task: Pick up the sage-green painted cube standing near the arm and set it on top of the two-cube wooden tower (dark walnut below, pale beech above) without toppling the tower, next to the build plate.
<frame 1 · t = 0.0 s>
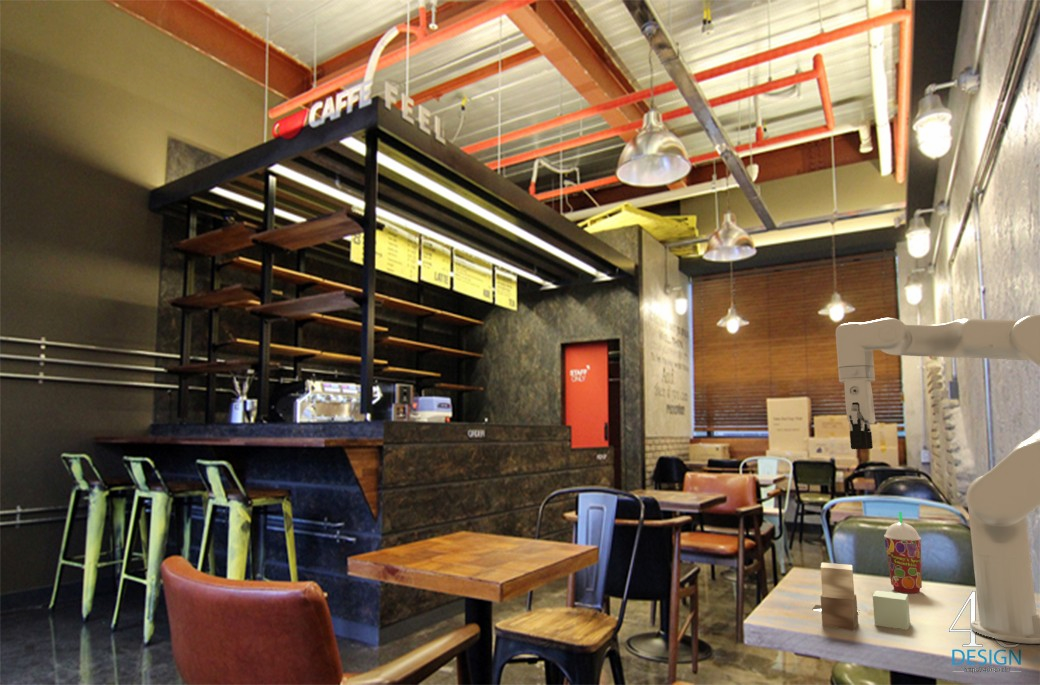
hand: (862, 448, 147), 37 cm above the table, tool pointing down, fingers open, 9 cm apart
smoothie: (906, 591, 164), on the table
sage block: (892, 624, 135), on the table
tower top: (838, 595, 135), point 6 cm above the table, touching tower base
tower base: (840, 624, 135), on the table, touching tower top
build plate: (835, 613, 146), on the table
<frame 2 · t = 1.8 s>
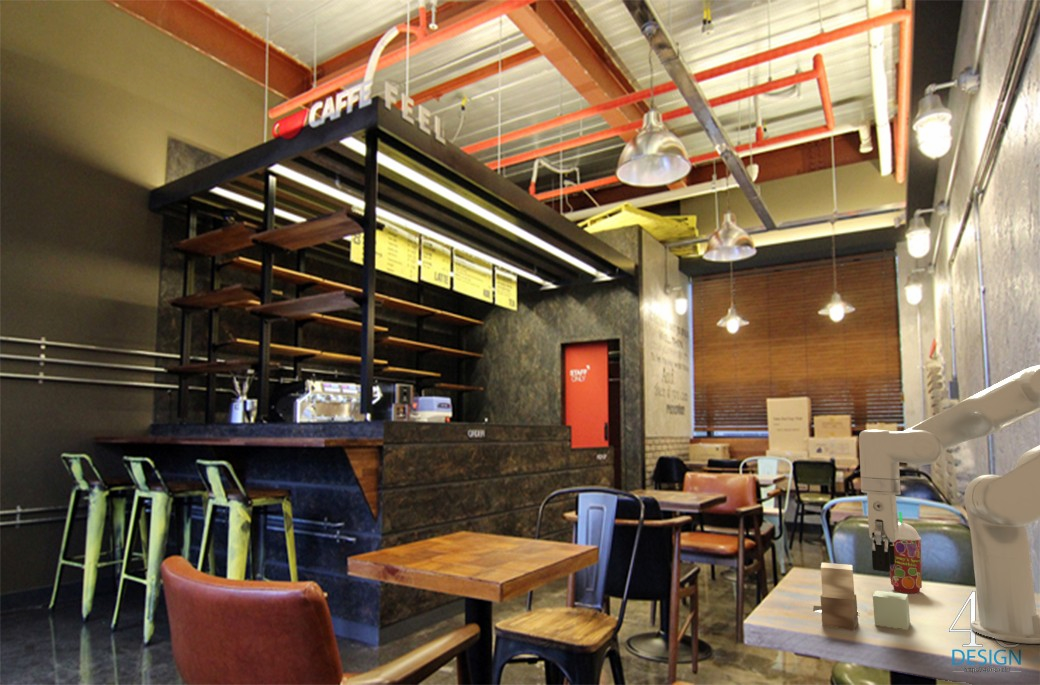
hand: (884, 567, 137), 12 cm above the table, tool pointing down, fingers open, 9 cm apart
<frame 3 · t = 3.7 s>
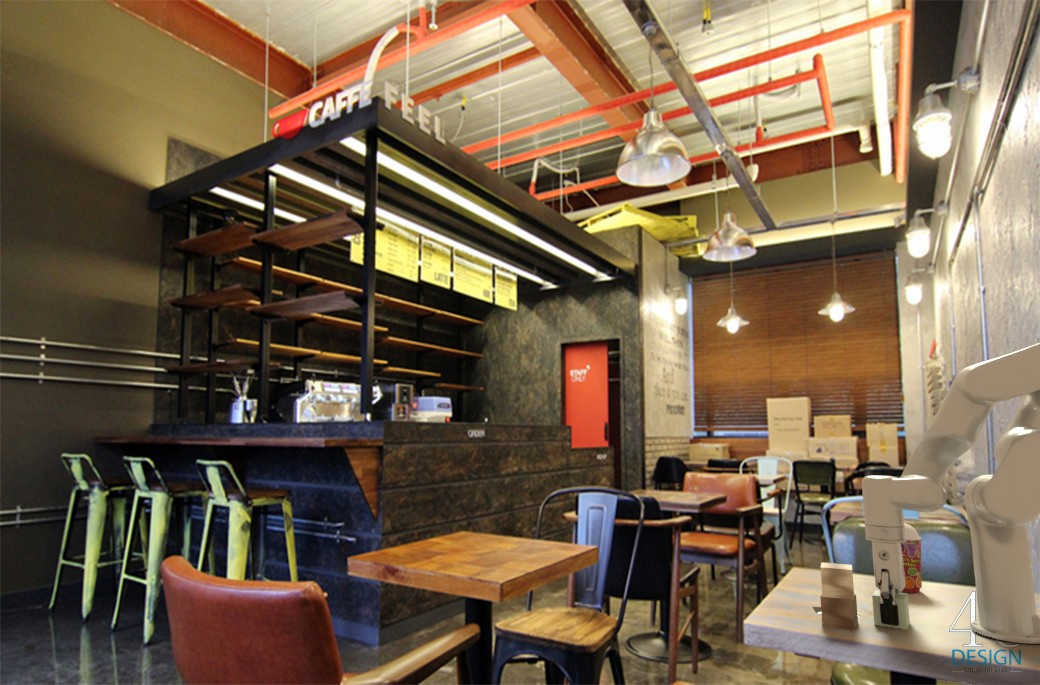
hand: (891, 619, 135), 1 cm above the table, tool pointing down, fingers closed on sage block, 6 cm apart
sage block: (892, 624, 135), on the table, touching gripper
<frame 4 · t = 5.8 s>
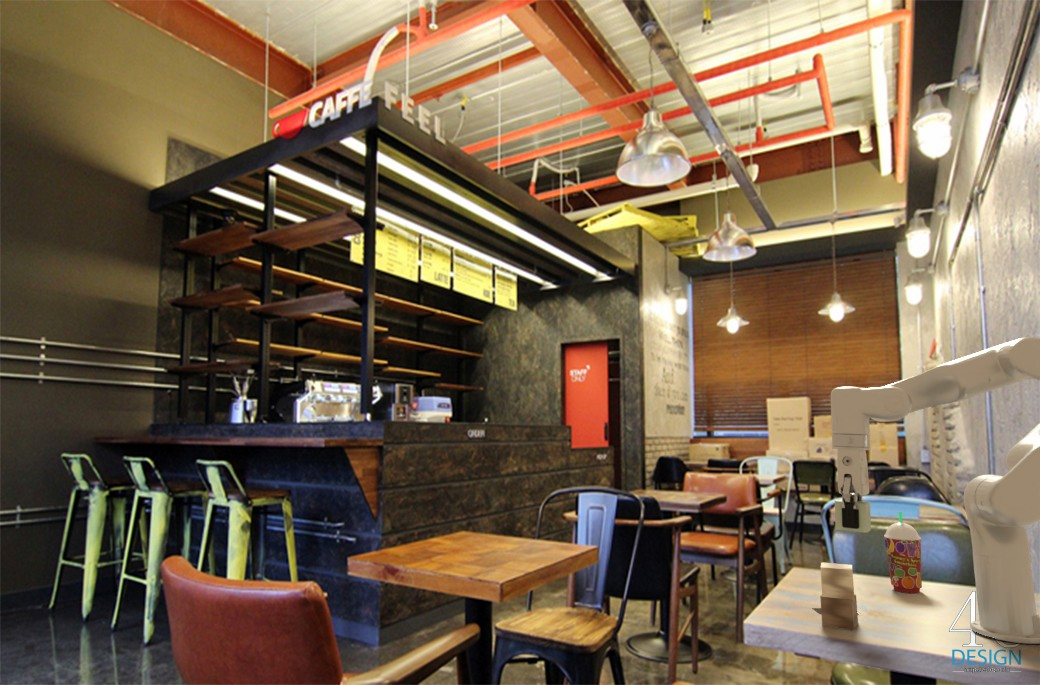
hand: (853, 525, 138), 20 cm above the table, tool pointing down, fingers closed on sage block, 6 cm apart
sage block: (853, 529, 138), point 19 cm above the table, touching gripper
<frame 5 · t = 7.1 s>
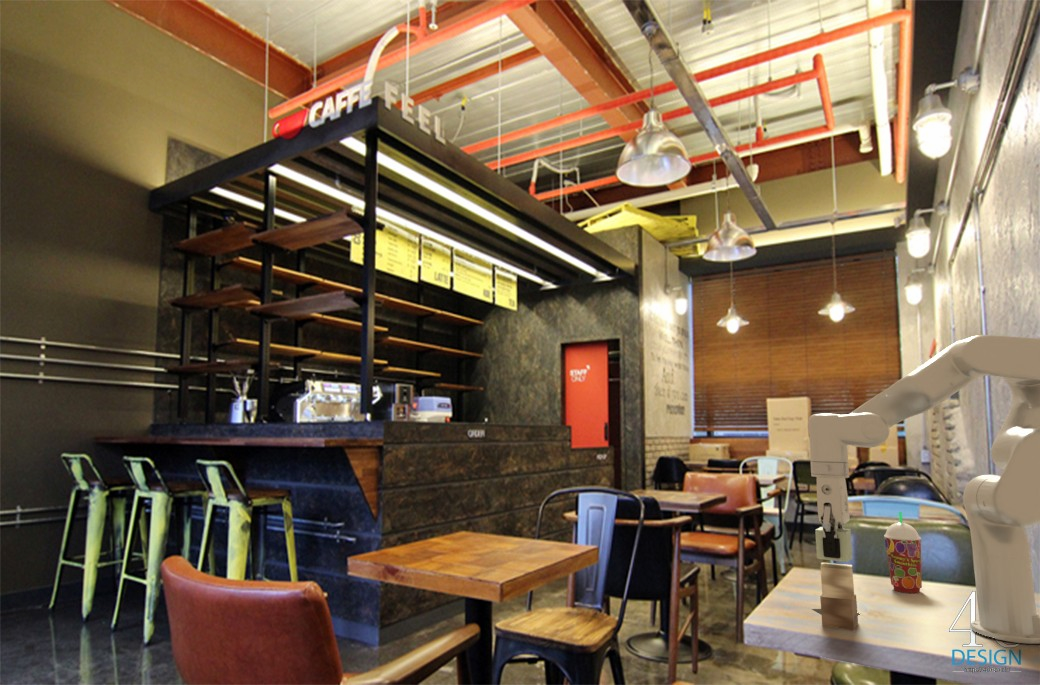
hand: (834, 554, 137), 14 cm above the table, tool pointing down, fingers closed on sage block, 6 cm apart
sage block: (834, 558, 137), point 14 cm above the table, touching gripper
when the fingers open (14 cm above the table, at t = 8.1 s): sage block stays where it is, resting on tower top.
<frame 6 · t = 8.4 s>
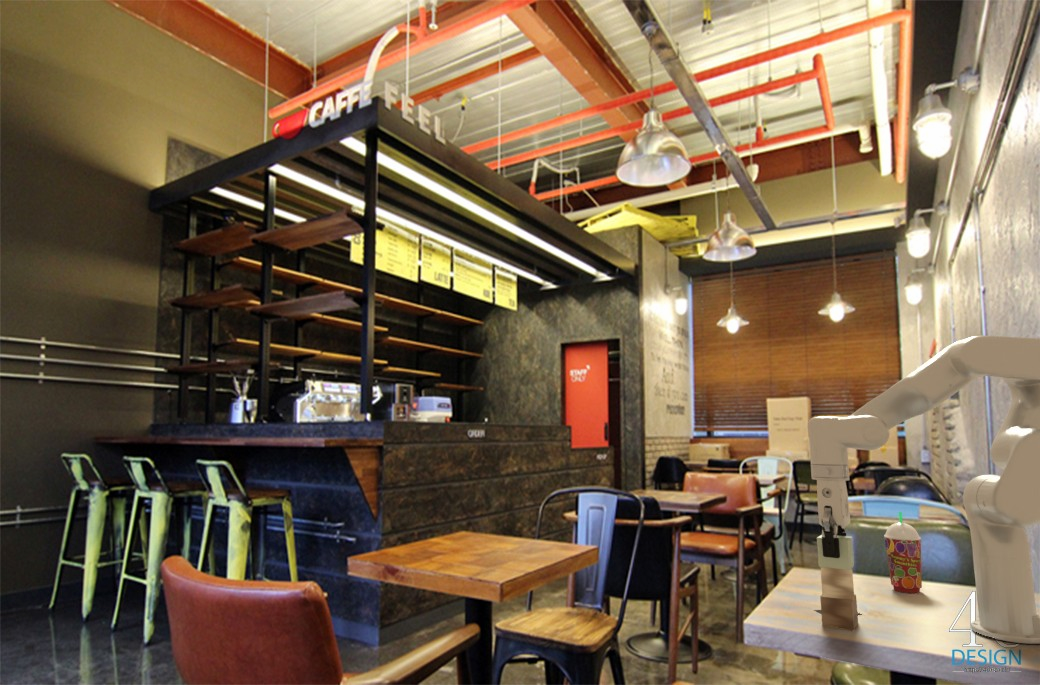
hand: (835, 553, 137), 14 cm above the table, tool pointing down, fingers open, 9 cm apart
sage block: (836, 566, 136), point 12 cm above the table, touching tower top
tower top: (838, 595, 136), point 6 cm above the table, touching sage block, tower base
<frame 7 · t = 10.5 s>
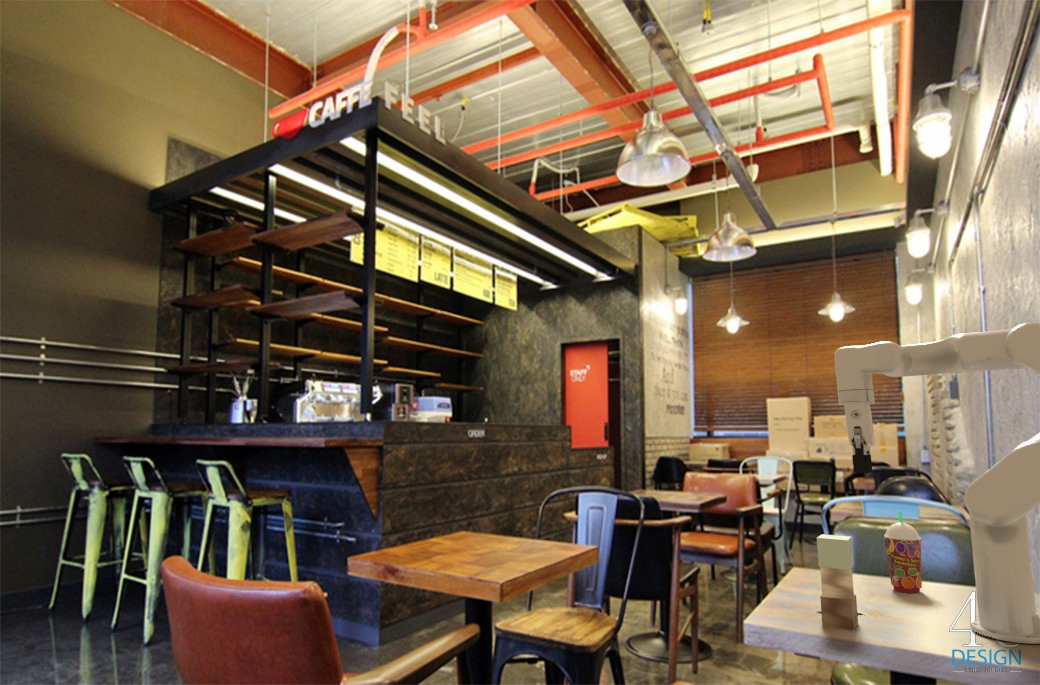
hand: (863, 472, 147), 31 cm above the table, tool pointing down, fingers open, 9 cm apart
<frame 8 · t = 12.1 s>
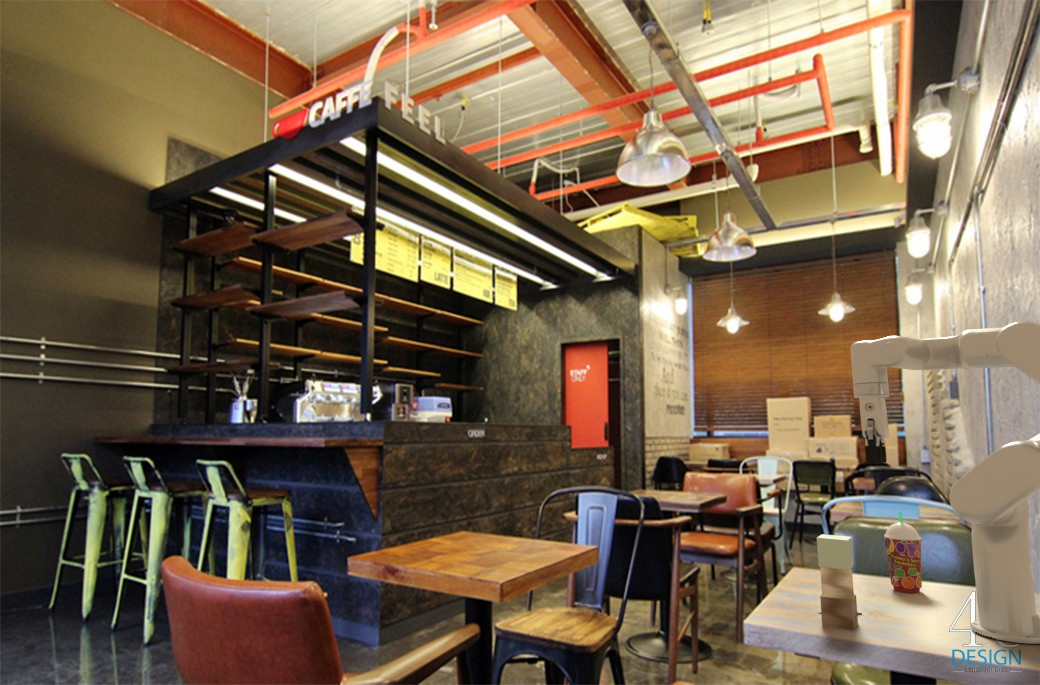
hand: (876, 463, 152), 33 cm above the table, tool pointing down, fingers open, 9 cm apart
at the end: sage block 0.1 cm off-centre on the tower top, point 6.0 cm above the tower top's base; sage block tilted 0°; tower top 0.0 cm off-centre on the tower base, point 6.0 cm above the tower base's base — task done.
